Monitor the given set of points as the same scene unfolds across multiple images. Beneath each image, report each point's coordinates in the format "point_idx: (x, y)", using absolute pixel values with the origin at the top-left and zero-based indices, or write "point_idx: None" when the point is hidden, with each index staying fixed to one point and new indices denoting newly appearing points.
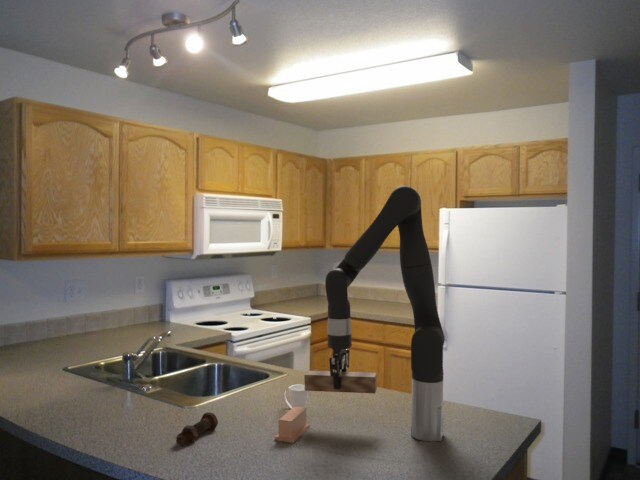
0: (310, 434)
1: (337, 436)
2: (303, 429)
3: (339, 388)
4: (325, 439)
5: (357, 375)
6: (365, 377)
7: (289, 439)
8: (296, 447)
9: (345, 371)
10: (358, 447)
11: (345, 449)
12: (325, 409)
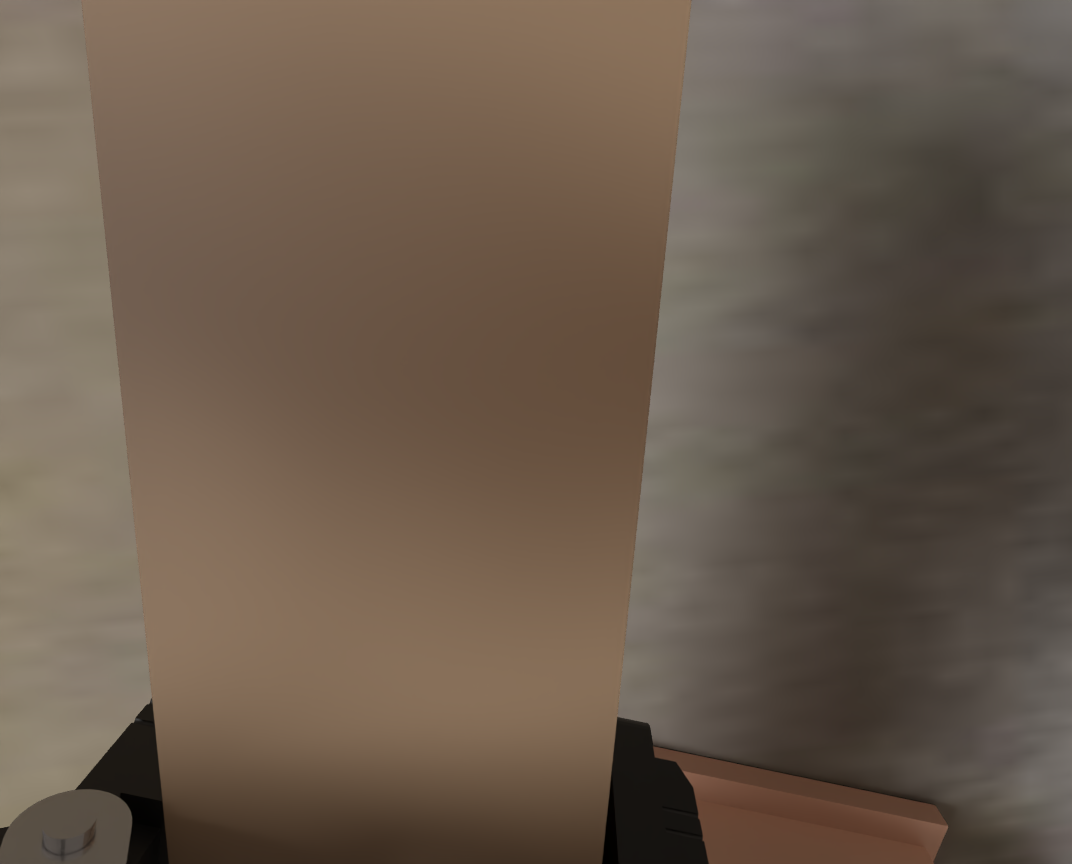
0: (739, 706)
1: (762, 481)
2: (716, 782)
3: (644, 737)
4: (840, 577)
5: (523, 505)
6: (665, 237)
7: (932, 853)
8: (1019, 774)
9: (100, 822)
10: (1015, 268)
11: (1062, 386)
12: (101, 647)
